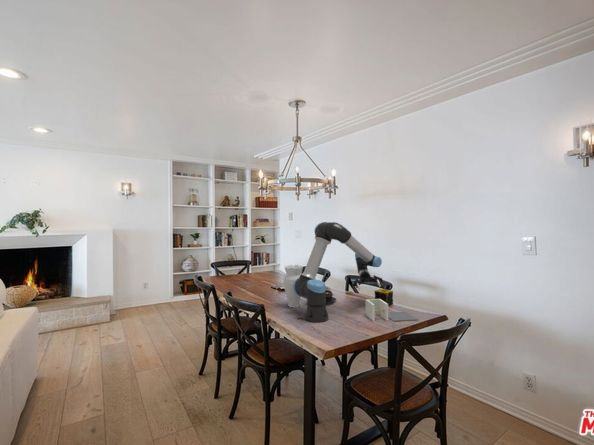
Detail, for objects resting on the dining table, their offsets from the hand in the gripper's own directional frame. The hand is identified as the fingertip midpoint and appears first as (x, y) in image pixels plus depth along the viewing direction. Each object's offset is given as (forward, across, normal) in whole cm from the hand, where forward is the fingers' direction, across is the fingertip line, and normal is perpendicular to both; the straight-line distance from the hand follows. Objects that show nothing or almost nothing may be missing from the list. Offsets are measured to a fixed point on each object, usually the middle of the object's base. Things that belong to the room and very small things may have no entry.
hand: (369, 286), depth 197 cm
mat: (+7, -15, -20) cm, 26 cm away
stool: (+10, 0, -17) cm, 20 cm away
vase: (-12, +54, -10) cm, 57 cm away
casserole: (-22, +35, -15) cm, 44 cm away
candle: (-21, -10, -24) cm, 33 cm away
